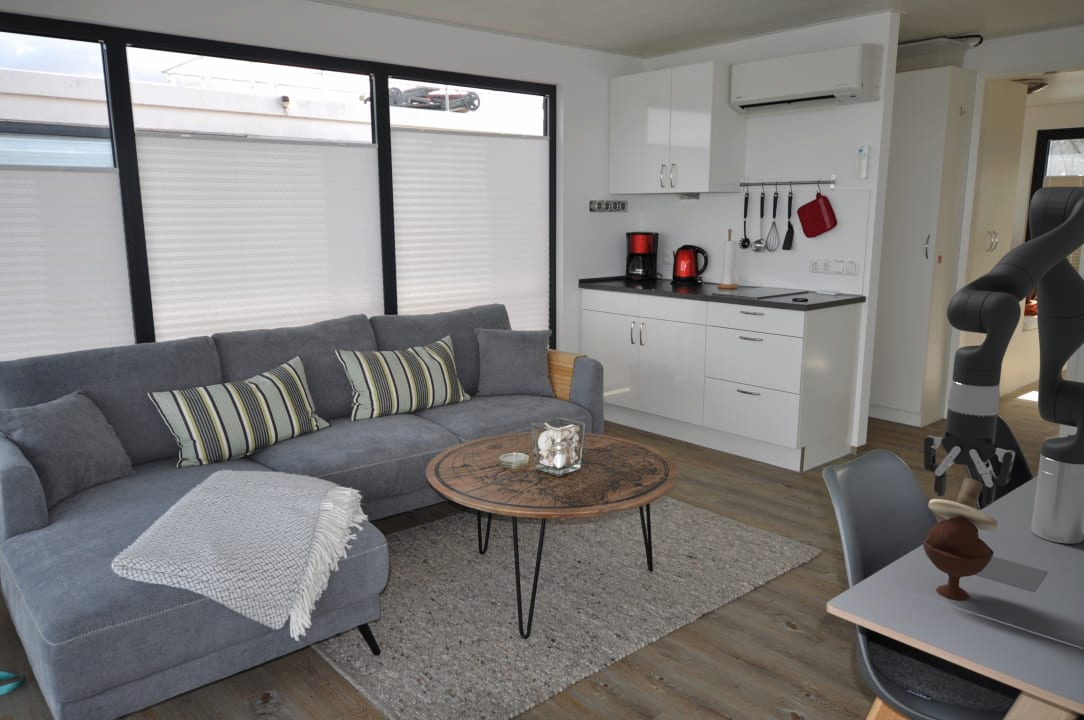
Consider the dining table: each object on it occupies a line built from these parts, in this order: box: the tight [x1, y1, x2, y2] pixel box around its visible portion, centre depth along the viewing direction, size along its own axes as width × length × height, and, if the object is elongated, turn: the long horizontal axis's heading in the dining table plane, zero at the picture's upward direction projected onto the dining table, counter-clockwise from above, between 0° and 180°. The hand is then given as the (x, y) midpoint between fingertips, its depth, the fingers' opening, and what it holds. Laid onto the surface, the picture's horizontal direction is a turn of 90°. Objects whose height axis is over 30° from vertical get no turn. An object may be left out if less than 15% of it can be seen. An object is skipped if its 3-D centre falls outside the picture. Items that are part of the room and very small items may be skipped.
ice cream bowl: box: [922, 517, 995, 602], centre depth 135 cm, size 11×11×15 cm
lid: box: [927, 477, 999, 532], centre depth 136 cm, size 11×11×7 cm
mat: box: [974, 555, 1049, 593], centre depth 145 cm, size 11×11×1 cm
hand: (962, 500), depth 133 cm, fingers open, 6 cm apart
